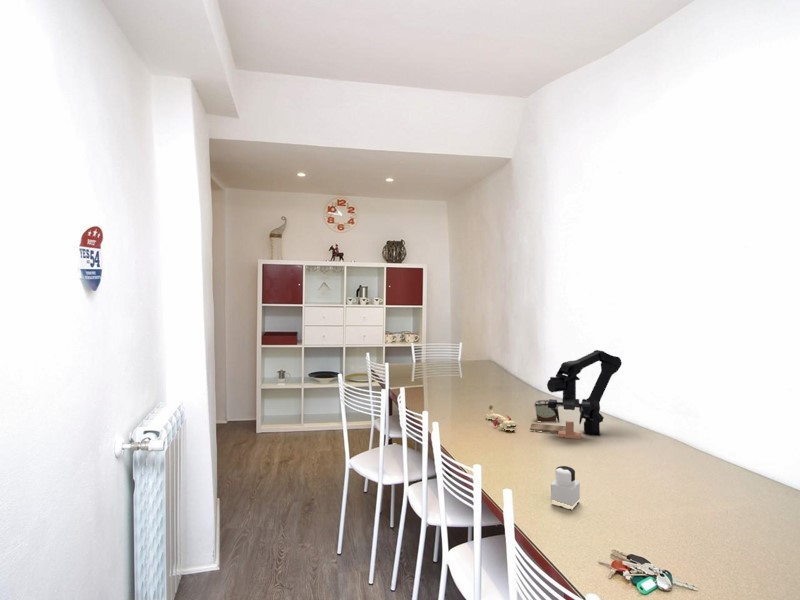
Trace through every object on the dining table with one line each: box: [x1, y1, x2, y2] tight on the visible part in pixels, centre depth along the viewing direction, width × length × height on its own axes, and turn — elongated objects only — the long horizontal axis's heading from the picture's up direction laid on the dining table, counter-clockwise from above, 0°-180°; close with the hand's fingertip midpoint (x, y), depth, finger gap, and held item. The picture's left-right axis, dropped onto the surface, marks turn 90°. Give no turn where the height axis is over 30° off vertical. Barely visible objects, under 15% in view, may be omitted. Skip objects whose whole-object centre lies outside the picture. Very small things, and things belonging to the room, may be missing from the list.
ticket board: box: [529, 422, 566, 434], centre depth 229 cm, size 17×8×2 cm, turn 70°
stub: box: [557, 420, 582, 440], centre depth 220 cm, size 10×4×6 cm, turn 70°
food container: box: [533, 399, 560, 423], centre depth 245 cm, size 12×6×10 cm, turn 84°
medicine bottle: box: [550, 465, 581, 506], centre depth 156 cm, size 7×7×12 cm
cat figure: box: [485, 404, 518, 431], centre depth 238 cm, size 10×9×25 cm
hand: (569, 423), depth 219 cm, fingers open, 9 cm apart
